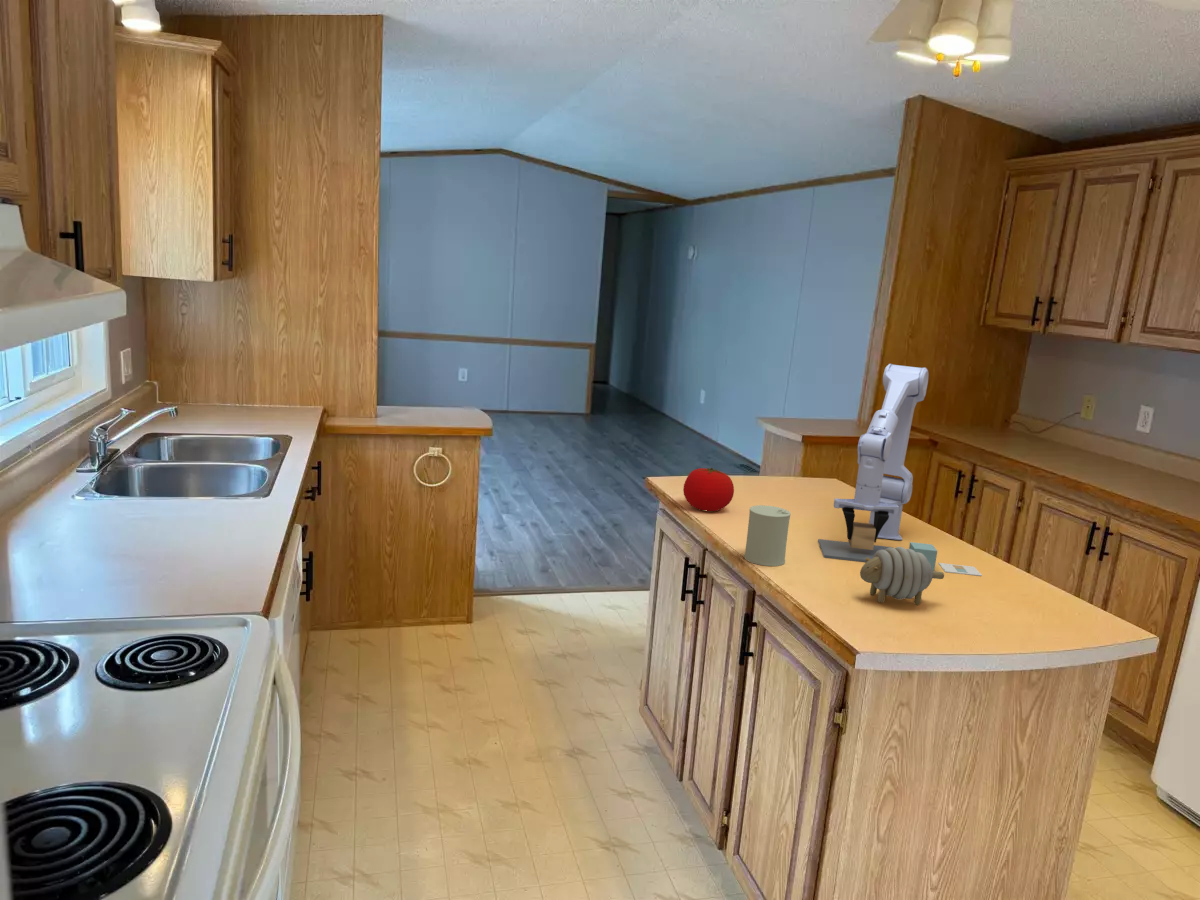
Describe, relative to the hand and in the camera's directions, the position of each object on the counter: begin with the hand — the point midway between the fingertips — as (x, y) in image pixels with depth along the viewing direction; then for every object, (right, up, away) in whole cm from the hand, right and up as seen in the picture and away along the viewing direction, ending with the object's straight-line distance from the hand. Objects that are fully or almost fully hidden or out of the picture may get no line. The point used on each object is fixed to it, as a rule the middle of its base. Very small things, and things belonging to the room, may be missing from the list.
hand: (861, 539), depth 198 cm
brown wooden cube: (0, -1, 0) cm, 1 cm away
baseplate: (0, -3, +1) cm, 3 cm away
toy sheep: (-2, -9, -29) cm, 30 cm away
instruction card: (+21, -6, -6) cm, 23 cm away
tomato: (-33, +5, +31) cm, 45 cm away
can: (-25, -4, -9) cm, 27 cm away
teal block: (+12, -6, -6) cm, 14 cm away
